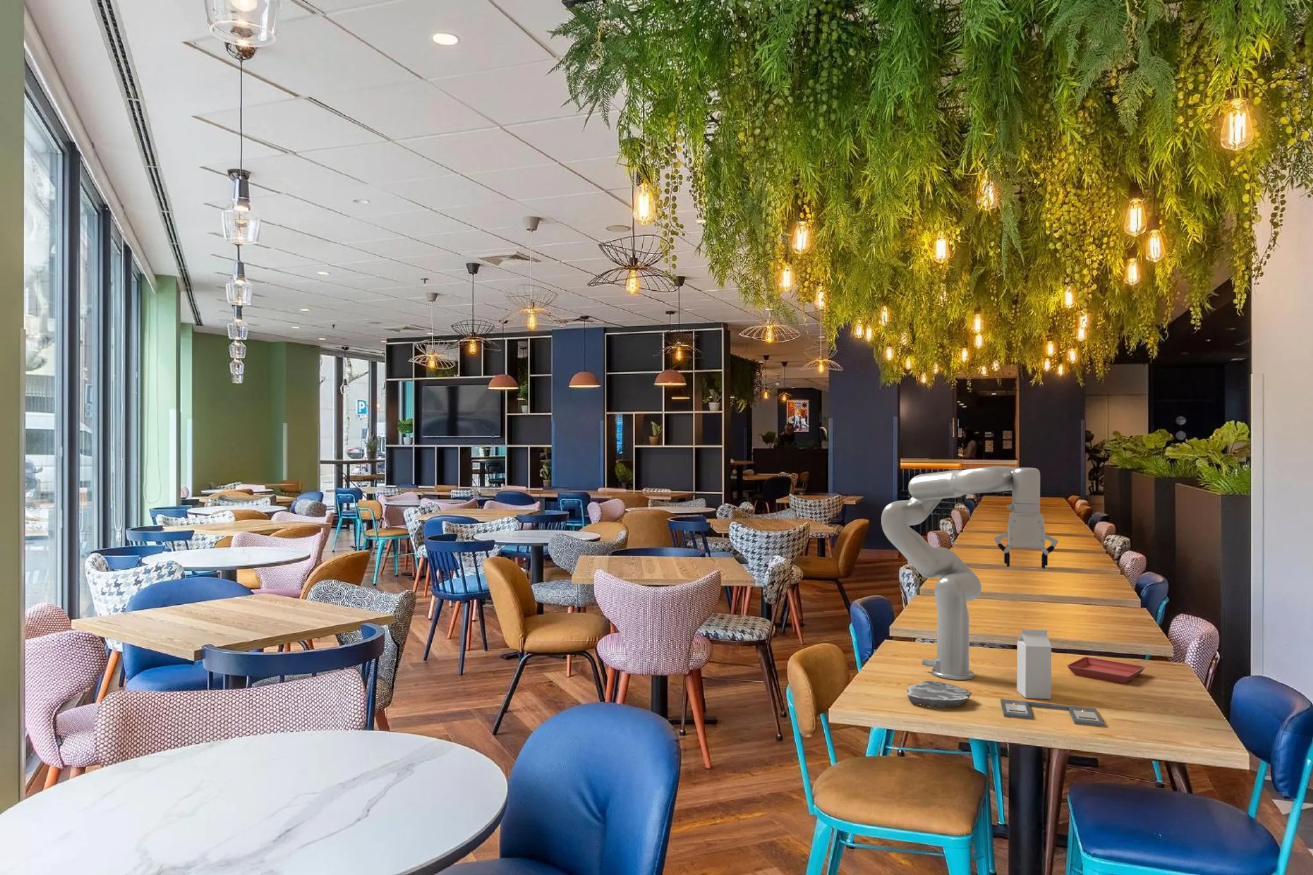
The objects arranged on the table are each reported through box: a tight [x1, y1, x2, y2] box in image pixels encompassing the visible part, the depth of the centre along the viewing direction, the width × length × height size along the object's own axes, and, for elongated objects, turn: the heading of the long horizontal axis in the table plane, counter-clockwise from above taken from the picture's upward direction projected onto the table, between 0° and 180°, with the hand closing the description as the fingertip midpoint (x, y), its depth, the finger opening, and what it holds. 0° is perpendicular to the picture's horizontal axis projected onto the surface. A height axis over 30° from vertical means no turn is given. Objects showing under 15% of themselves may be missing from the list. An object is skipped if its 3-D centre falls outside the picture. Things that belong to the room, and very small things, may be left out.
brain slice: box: [906, 680, 972, 709], centre depth 240 cm, size 20×17×3 cm
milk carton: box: [1016, 628, 1052, 700], centre depth 246 cm, size 7×7×19 cm
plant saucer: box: [1066, 656, 1146, 684], centre depth 270 cm, size 18×18×3 cm
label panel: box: [1000, 698, 1106, 728], centre depth 229 cm, size 24×14×1 cm, turn 71°
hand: (1025, 567), depth 252 cm, fingers open, 9 cm apart
